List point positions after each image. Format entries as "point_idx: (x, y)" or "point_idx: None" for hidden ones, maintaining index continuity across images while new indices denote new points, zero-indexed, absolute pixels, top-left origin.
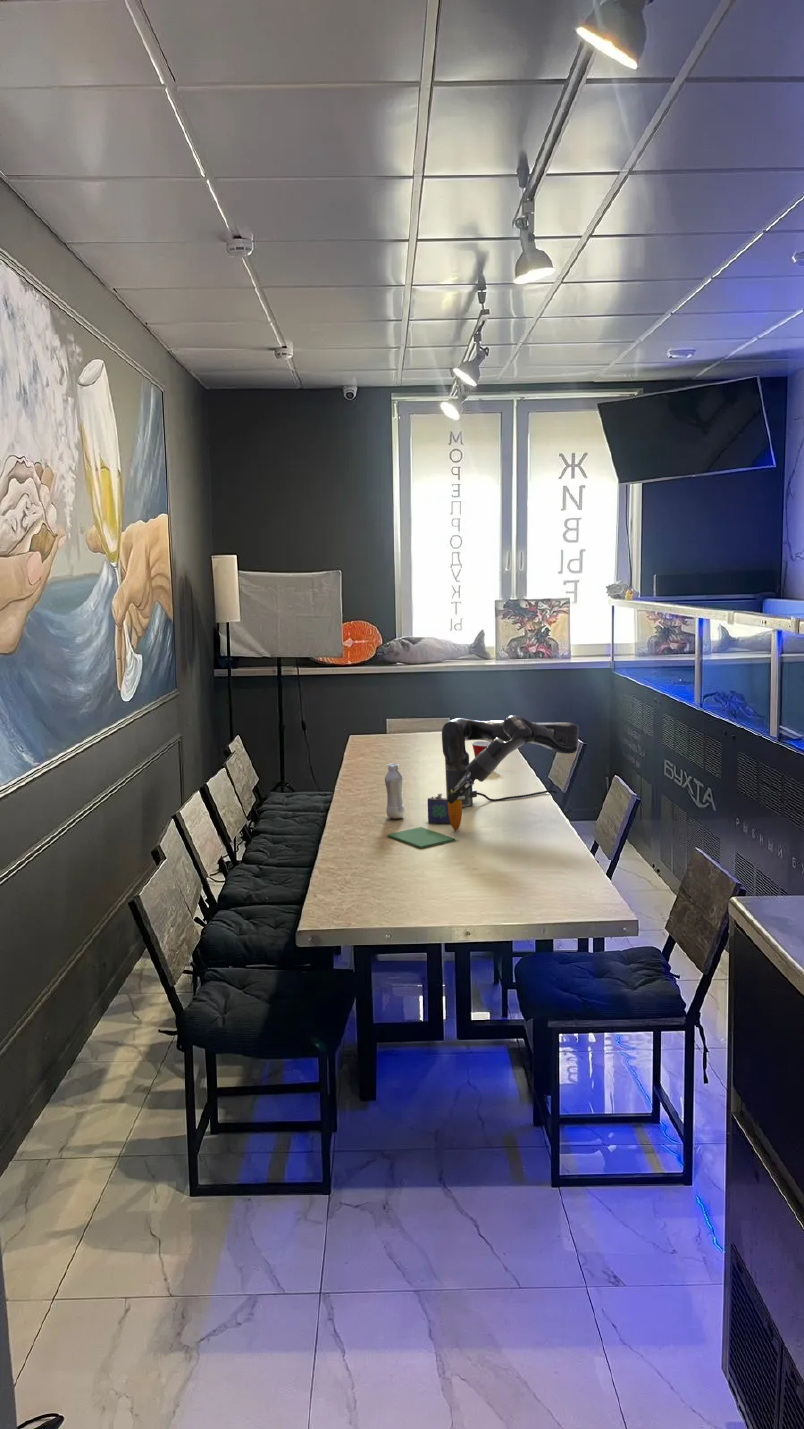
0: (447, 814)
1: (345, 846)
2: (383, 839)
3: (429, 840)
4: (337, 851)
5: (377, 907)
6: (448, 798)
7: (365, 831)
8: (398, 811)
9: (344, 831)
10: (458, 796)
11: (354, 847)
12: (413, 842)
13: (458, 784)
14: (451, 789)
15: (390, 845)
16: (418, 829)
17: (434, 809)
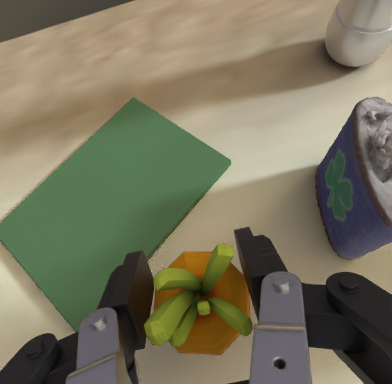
0: (343, 228)
1: (47, 51)
2: (106, 103)
3: (57, 239)
4: (10, 52)
5: None
6: (124, 262)
7: (183, 39)
8: (339, 42)
9: (178, 2)
10: (136, 348)
11: (37, 70)
12: (38, 194)
13: (114, 367)
14: (226, 253)
15: (45, 138)
16: (196, 162)
17: (335, 161)
